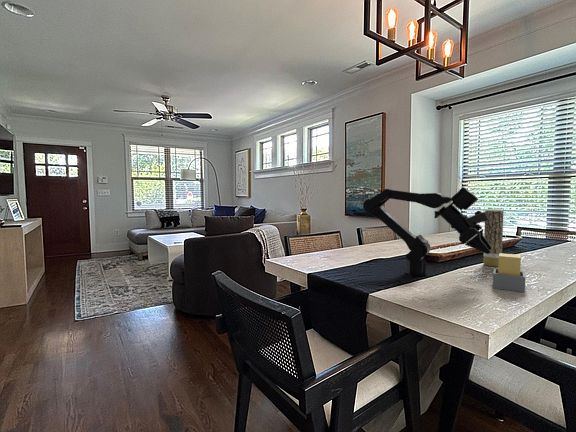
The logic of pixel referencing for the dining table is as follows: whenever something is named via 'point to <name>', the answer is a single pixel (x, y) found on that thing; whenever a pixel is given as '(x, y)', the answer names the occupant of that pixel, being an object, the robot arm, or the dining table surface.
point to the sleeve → (509, 281)
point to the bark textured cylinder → (493, 236)
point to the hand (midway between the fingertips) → (489, 251)
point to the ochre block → (509, 264)
